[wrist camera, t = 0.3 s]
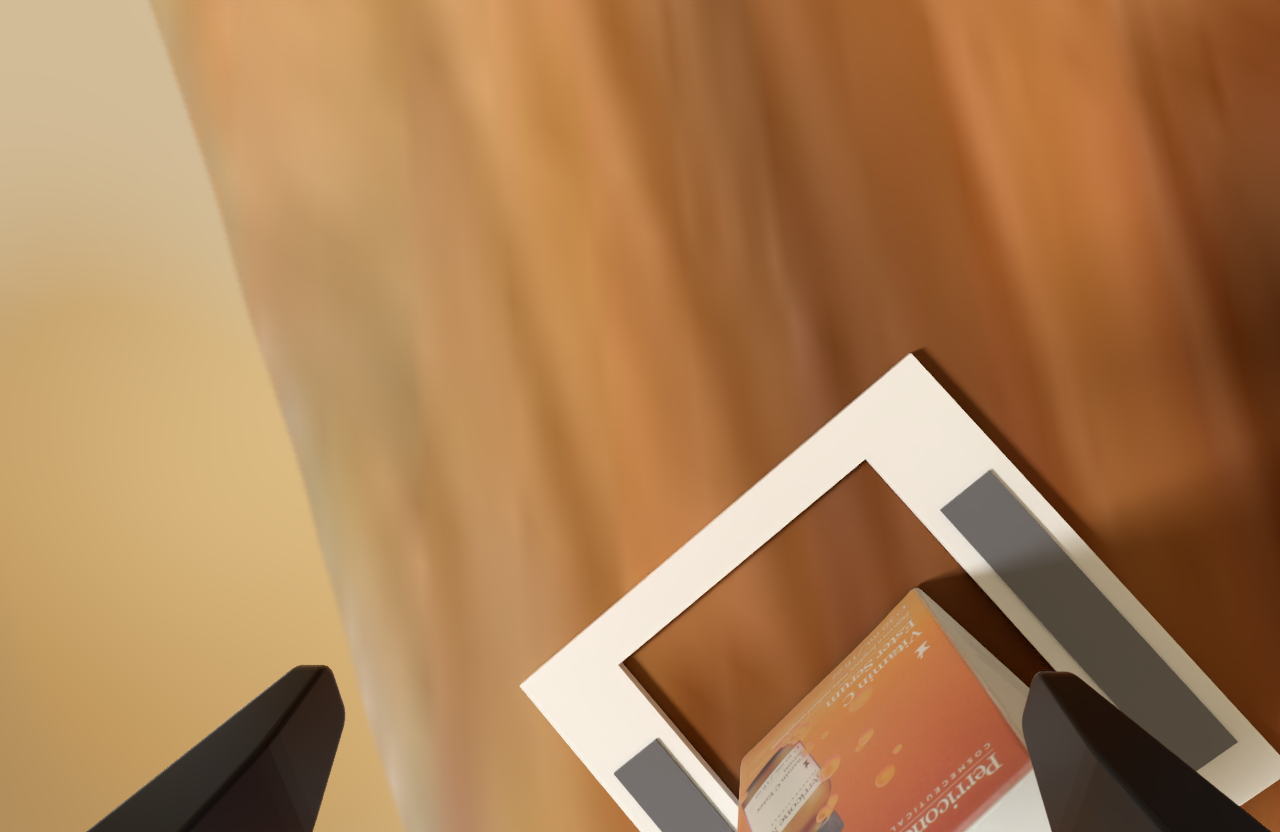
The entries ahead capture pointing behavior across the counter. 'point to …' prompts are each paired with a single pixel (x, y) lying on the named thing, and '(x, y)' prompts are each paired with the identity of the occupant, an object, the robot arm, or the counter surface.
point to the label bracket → (978, 540)
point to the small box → (900, 740)
